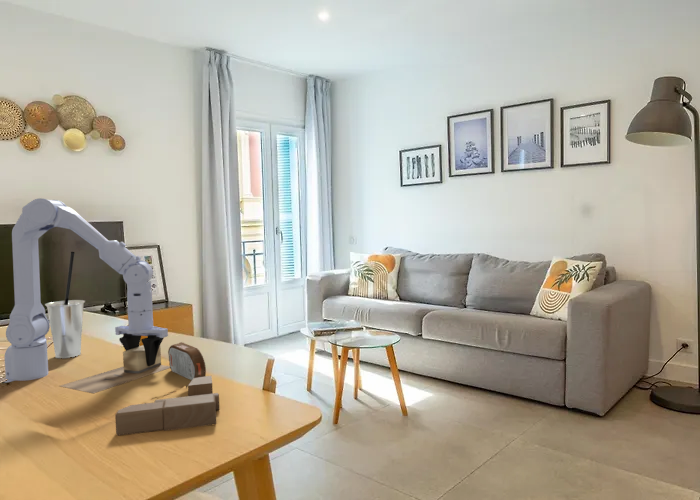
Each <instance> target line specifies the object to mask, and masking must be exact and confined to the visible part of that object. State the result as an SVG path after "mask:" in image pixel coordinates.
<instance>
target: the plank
mask: <svg viewBox="0 0 700 500" xmlns="http://www.w3.org/2000/svg"><path fill="white" fill-rule="evenodd" d="M168 369H170V365H163V364H161V365H159V366H157V367H154V368H152V369H149V370H146V371H144V372H141V373H139V374H138V373H128V372H124V366H121V367H118V368H117V367H116V368H114V369H111V370H107V371H104V372H101V373H98V374H94V375H91V376H88V377H84V378H81V379H78V380H75V381H71V382H67V383H64V384H61V385H59V387H61V388H62V387H63V388H67V389H72V390H76V391H80V392H85V393H89V394H96V393H99V392H102V391H105V390H108V389H112V388H115V387H117V386H120V385H124V384H126V383H129V382H133V381H135V380H138V379H141V378H144V377H147V376H150V375H153V374H156V373H159V372H162V371H165V370H168Z"/></svg>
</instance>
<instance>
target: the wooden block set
mask: <svg viewBox="0 0 700 500" xmlns="http://www.w3.org/2000/svg"><path fill="white" fill-rule="evenodd" d="M187 392H188V393H187V396H179V397H172V398H171V397H168V398H163V399H155V400H154V402H147V403H138V404H131V405H128V406H125V407H123V408H120V409H118V410H117V411H116V413H115V416H114V417H115V434H116V435H117V436H124V435H125V436H126V435H127V436H128V435H132V434H142V433H149V432H156V431H158V432H159V431H173V430H181V429H182V430H183V429H189V428H196V427H197V426H198V427H204V426H205V425H206V426H212V424H214V425H216V424H217V411H218V410H220V393H218V392H215V393H214V391H213V377H212V375H206V376H205V377H198V378H193V380H190V382H189V383H188V385H187Z"/></svg>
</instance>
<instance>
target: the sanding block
mask: <svg viewBox="0 0 700 500" xmlns="http://www.w3.org/2000/svg"><path fill="white" fill-rule="evenodd" d="M161 353H162V352H161V346H160V347H159V349H158V352H157V356H156V361H155V364H154V365H152V366H147V363H146V354H145V349H144V346H143V344H142V345H139V347H136V348H133V349H130V350H127V351H126V350H125V351H123V352H122V357H123V358H122V361H123V363H122V364H123V367H124V372H128V373H138V374H139V373H141V372H144V371H146V370H149V369H152V368H154V367H157V366H159V365H162V354H161Z"/></svg>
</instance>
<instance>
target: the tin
mask: <svg viewBox="0 0 700 500" xmlns="http://www.w3.org/2000/svg"><path fill="white" fill-rule="evenodd" d="M167 353H168V361H169V365H168V366H170V368H169V369H170V371H171V373H175V374H177V375H179V376H180V377H183V378H186V379H188V380H190V381H192V380H193V378H198V377H205V376H207V369H206V362H205V359H204V356H203V354H202V352H201V351H200V350H199V349H198V348H197V347H196V346H193V345H190V344H188V343H185V342H183V341H181V342H179V343H175V344H172V345H170V346H169V347H168V351H167Z"/></svg>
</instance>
